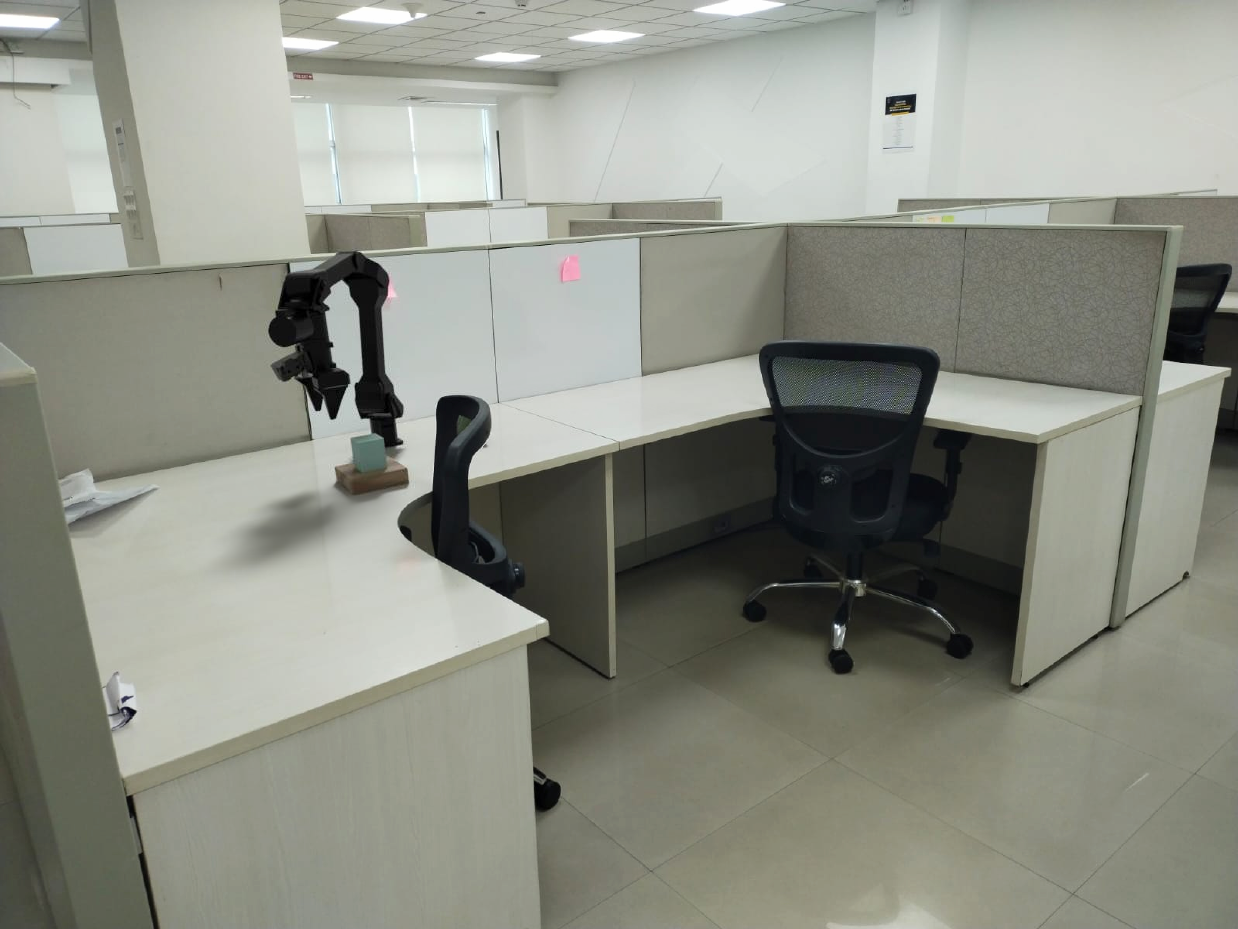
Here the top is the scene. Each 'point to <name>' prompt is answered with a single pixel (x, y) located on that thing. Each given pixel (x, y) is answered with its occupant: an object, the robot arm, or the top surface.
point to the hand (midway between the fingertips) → (325, 415)
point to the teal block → (368, 452)
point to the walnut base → (371, 477)
